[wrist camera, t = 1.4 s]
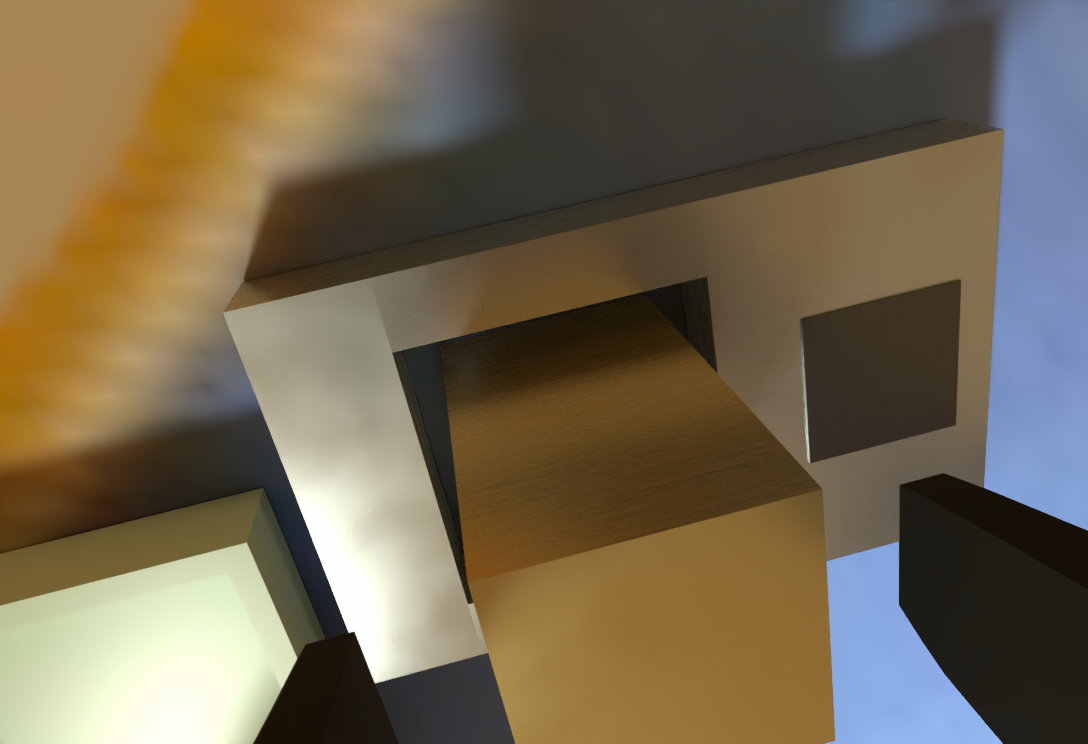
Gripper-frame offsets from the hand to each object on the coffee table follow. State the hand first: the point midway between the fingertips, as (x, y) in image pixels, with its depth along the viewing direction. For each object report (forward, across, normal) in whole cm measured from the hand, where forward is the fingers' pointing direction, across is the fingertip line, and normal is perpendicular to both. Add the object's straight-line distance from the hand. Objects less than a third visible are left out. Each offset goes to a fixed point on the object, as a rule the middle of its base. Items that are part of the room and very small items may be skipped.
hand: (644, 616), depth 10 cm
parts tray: (+6, +10, +4) cm, 12 cm away
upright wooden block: (+6, 0, 0) cm, 6 cm away
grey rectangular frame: (+6, -2, 0) cm, 6 cm away
